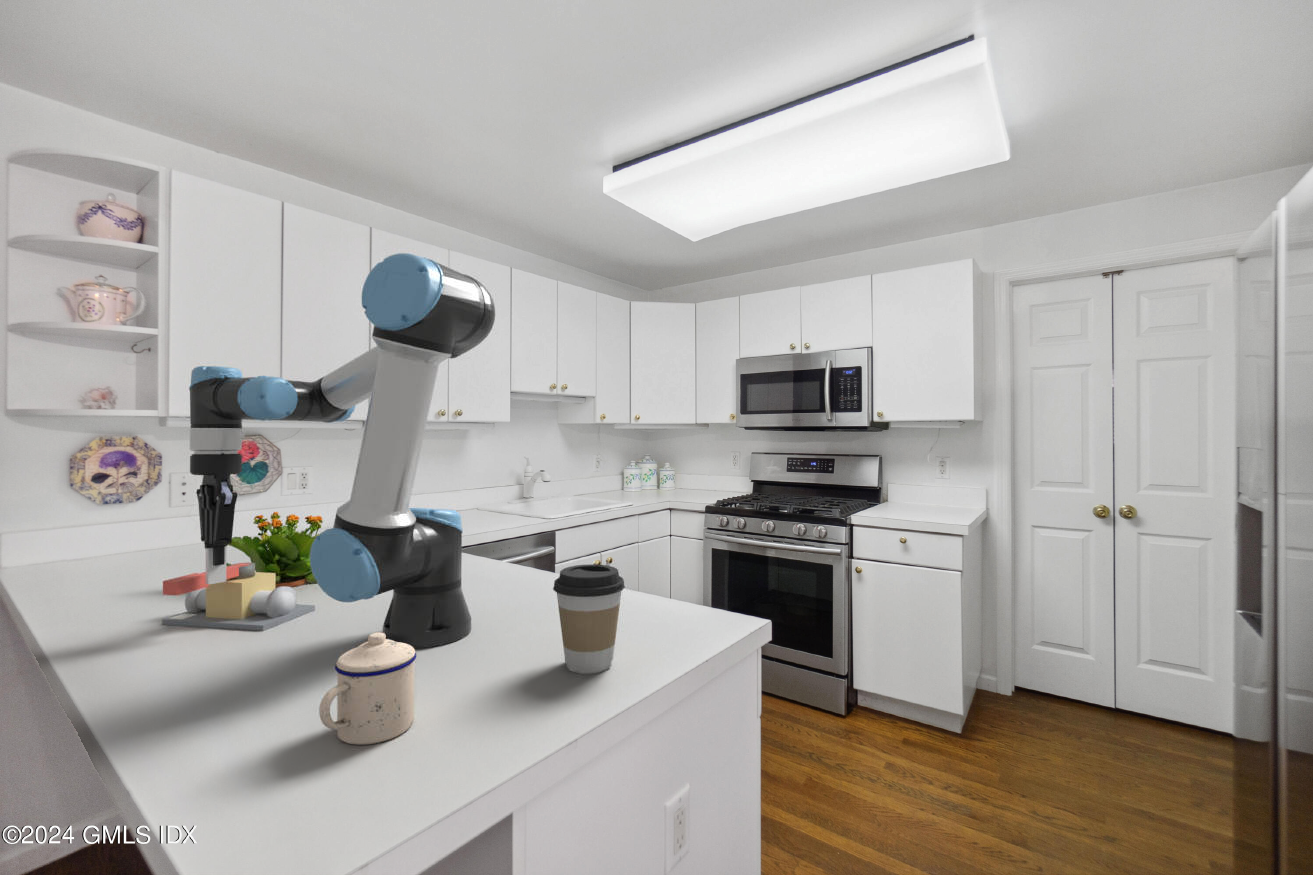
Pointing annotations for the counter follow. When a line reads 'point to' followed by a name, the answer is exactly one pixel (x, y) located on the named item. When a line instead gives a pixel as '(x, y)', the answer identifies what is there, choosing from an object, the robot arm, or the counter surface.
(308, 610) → the valve base
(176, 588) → the lever
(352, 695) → the teacup with lid
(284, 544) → the potted flower
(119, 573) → the counter surface
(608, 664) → the coffee cup
